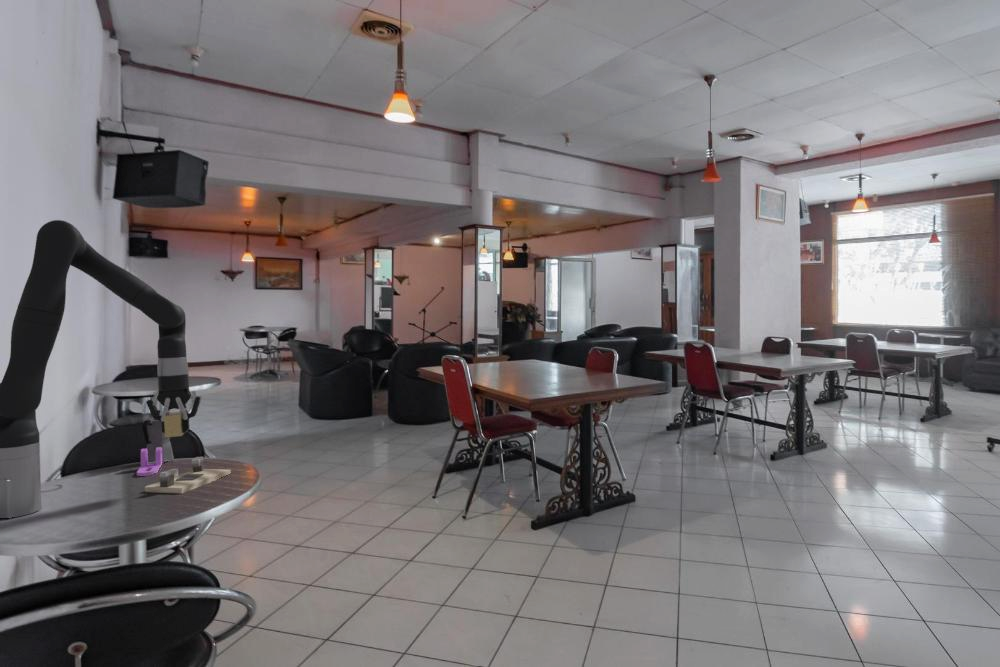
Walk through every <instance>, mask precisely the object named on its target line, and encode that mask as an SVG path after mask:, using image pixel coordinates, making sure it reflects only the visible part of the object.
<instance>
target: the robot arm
mask: <svg viewBox="0 0 1000 667" xmlns="http://www.w3.org/2000/svg"><path fill="white" fill-rule="evenodd" d="M34 246H35V247H34V254H33V260H32V264H31V268H30V272H29V274H28V277H27V280H26V281H25V284H24V287H23V290H22V293H21V295H20V299H19V302H18V304H17V307H16V308H17V309H16V312H15V315H14V317H13V318H14V319H13V322H12V326H11V333H10V353H9V354H10V355H9V359H8V360H9V362H8V365H7V366H6V370H5V372H4V375H3V378H2V380H1V382H0V518H9V519H12V517H13V518H16V517H23V516H27V515H31V514H33V513H36V512H38V511H40V510H42V485H41V484H42V482H41V454H40V453H41V447H40V444H41V443H40V441H41V439H40V431H39V429H38V424H37V416H36V414H37V413H36V410H37V409H38V408H39V406H40V404H41V400H42V397H43V396H42V395H43V390H44V389H43V388H44V382H45V375H46V369H47V365H48V362H49V359H50V357H51V354H52V351H53V349H54V346H55V344H56V341H57V337H58V334H59V331H60V328H61V325H62V321H63V317H64V313H65V308H66V298H67V296H66V295H67V278H68V273H69V270H70V267H73V268H76V269H78V271H79V270H80V272H83V273H84V274H86V275H88V276H90V278H93V279H94V280H95V281H97V282H98V283H100V284H101V285H103V286H104V287H105V288H107V289H108V290H109V291H110V292H111V293H113V294H114V295H116V296H117V297H119V298H120V299H121V300H123V301H124V302H126V303H127V304H129V305H130V306H132V307H133V308H135V309H137V310H139V311H141V312H142V313H143V314H144V315H145V316H146V317H148V318H149V319H150V320H152V321H153V322H155V323H156V324H157V325H158V340H157V367H156V368H157V369H156V370H157V386H158V394H157V396H156V397H155V398H150V399H148V400H146V405H147V407H148V410H149V412H150V414H151V415H152V416H151V417H153V418H154V420H160V421H161V423H162V432H163V433H165V426H164V416H165V415H167V414H169V413H170V412H171V410H173V409H176V410H178V411H179V412H181V414H182V417H183V420H182V421H183V433H184V434H186V433H187V432H188V431H189V430H190V419H191V418H193V417H195V416H196V415H197V414H198V409H199V407H200V403H201V399H202V396H200V395H193V394H192V392H190V382H189V379H190V378H189V372H190V371H189V363H188V359H187V344H186V338H185V337H186V326H187V325H186V323H187V322H186V313H185V311H184V309H183V308H182V307H181V306H179V305H178V304H175V303H174V302H172V300H171V301H170V299H168V298H166V297H165V296H163V295H161V294H160V293H158V292H157V291H156V290H155V289H154V288H153V287H152V286H150V285H149V284H147V283H146V282H145V281H144V280H142V279H140V278H139V277H137V276H136V275H134V274H133V273H131V272H130V271H128V270H126V269H124V268H122V267H121V266H119V265H117V264H115V263H114V262H112V261H110V260H109V259H108V258H106V257H105V256H103V255H102V254H100V253H99V252H98V250H96V249H94V247H92V245H90V244H89V243H88V242H87V241H86V240H85V239H84V237H83V235H82V233H81V232H80V231H79V230H78V228H77V227H75V226H74V225H73V224H71V223H70V222H68V221H65V220H60V219H56V220H55V219H54V220H49V221H47V222H46V223H44V224H43V225H42V226H40V228H39V230H38V231H37V234H36V240H35V245H34ZM190 399H191V403H192V407H191V411H190V413H189V411H188V407H187V403H189V401H190ZM158 403H160V404H161V406H162V407H163V408H162V412H161V413H160V414H159V412H158V410H159V409H158V408H157V405H158Z"/></svg>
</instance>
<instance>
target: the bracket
mask: <svg viewBox="0 0 1000 667" xmlns="http://www.w3.org/2000/svg"><path fill="white" fill-rule="evenodd" d="M162 463H163V462H162V447H157V448H156V463H154V464H148V451H147V448H141V449H140V466H139V468H138V470H137V471H136V476H137V475H138V476H146V475H151V474H154V473H157V472H158V470H159V468H160V467H161V465H162ZM163 464H164V463H163ZM148 469H151V470H150V471H146V470H148ZM158 473H159V472H158ZM158 473H157V474H158ZM138 476H137V477H138ZM146 477H147V476H146Z"/></svg>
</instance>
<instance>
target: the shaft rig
mask: <svg viewBox="0 0 1000 667" xmlns="http://www.w3.org/2000/svg"><path fill="white" fill-rule="evenodd" d="M204 464H205V461H204V456H195V457H194V458H192V459H191V467H192V470H189V471H186V472H184V473H180V474H179V469H178V468H171V469H168V470H164V471H162V472H161V471H160V472H159V481H157V482H154V483H152V484H148V485H146V486H144V492H145V493H157V494H159V493H160V494H161V493H162V494H163V493H164V494H185V493H186V492H190V491H192V490H194V489H197V488H199V487H202V486H205V485H207V484H211V483H213V482H215V481H217V479H218V480H220V479H222V478H221V477H223V476H226V475H228V474H230V473H232V472H231V471H232V470H231V469H220V468H219V469H218V468H205V465H204ZM228 476H229V475H228ZM226 477H227V476H226ZM219 478H220V479H219ZM223 478H224V477H223ZM212 481H213V482H212Z"/></svg>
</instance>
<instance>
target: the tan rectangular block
mask: <svg viewBox="0 0 1000 667" xmlns="http://www.w3.org/2000/svg"><path fill="white" fill-rule="evenodd" d="M182 420H183V417H182V414H181V412H180V411H172V412H171V411H170V412H169V414H167V415H165V416H164V426H165V437H170V438H175V437H182V436H183V435H184V434H185V433H183V421H182Z"/></svg>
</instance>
